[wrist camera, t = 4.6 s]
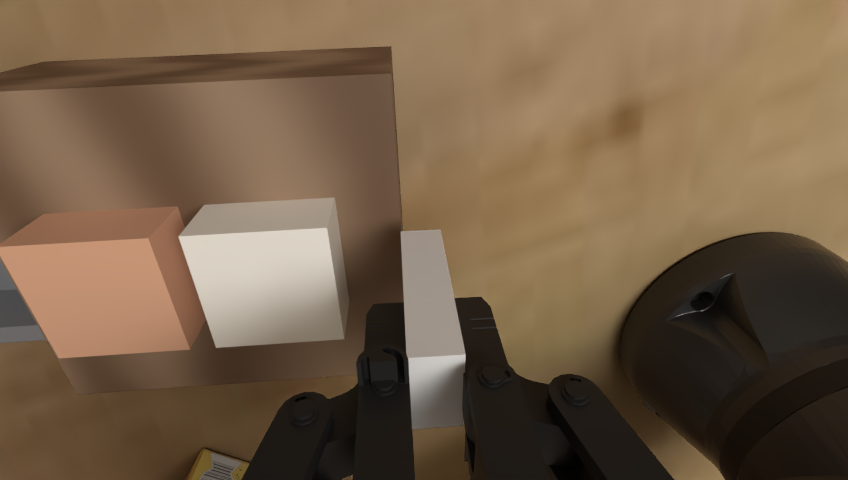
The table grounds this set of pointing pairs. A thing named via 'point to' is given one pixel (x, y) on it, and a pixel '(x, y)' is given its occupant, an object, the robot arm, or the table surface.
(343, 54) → the brown wooden block
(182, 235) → the tile offwhite
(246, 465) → the candy box
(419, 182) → the table surface
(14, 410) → the table surface
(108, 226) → the tile terracotta
